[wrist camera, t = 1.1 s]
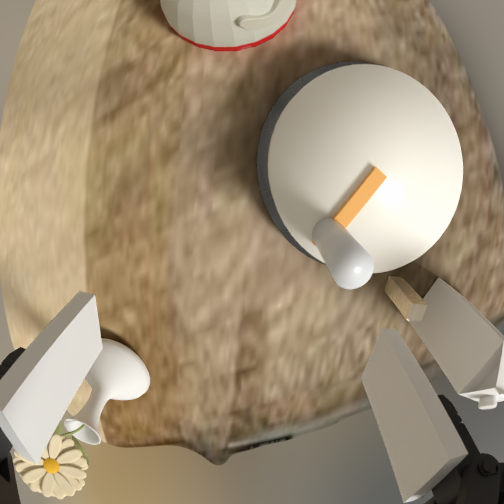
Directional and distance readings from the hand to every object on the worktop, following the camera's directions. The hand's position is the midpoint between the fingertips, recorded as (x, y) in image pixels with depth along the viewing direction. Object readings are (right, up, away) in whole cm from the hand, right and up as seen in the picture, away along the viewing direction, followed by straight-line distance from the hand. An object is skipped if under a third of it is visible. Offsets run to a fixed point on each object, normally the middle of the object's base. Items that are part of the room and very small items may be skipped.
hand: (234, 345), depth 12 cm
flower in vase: (-19, -12, +28) cm, 36 cm away
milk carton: (+26, -4, +25) cm, 36 cm away
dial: (+12, +12, +17) cm, 24 cm away
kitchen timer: (-2, +30, +13) cm, 33 cm away
